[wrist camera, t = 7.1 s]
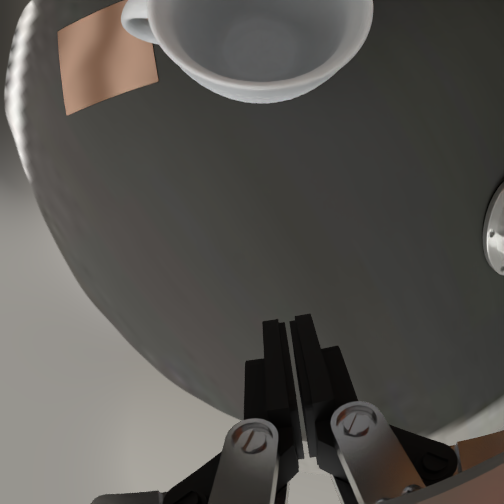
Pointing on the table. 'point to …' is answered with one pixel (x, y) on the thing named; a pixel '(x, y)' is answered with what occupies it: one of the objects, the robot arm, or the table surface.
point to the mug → (254, 41)
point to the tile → (102, 59)
